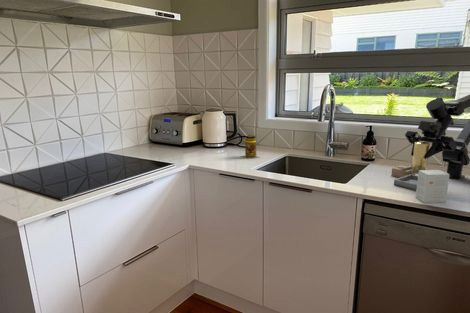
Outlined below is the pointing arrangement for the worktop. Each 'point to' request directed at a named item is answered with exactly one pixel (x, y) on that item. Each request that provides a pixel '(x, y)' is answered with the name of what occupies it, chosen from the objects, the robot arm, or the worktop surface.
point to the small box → (432, 186)
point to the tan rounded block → (402, 171)
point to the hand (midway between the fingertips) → (418, 156)
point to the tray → (407, 182)
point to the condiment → (250, 147)
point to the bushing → (420, 156)
